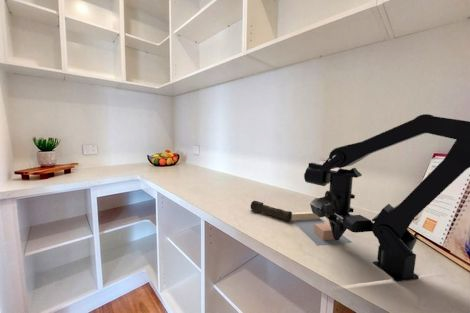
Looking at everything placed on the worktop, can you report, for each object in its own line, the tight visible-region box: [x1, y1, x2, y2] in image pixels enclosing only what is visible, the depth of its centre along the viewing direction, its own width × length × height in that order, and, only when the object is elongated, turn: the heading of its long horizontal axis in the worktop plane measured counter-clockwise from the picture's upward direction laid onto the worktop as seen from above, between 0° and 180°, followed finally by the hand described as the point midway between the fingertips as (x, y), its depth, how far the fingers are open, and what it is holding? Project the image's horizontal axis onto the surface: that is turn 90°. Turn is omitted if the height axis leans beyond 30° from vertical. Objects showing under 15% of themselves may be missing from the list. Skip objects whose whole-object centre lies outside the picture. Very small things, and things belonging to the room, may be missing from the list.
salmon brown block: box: [314, 222, 334, 240], centre depth 63 cm, size 5×5×3 cm
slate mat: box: [290, 211, 353, 247], centre depth 68 cm, size 18×12×3 cm, turn 10°
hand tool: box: [250, 200, 293, 223], centre depth 80 cm, size 19×4×5 cm, turn 47°
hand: (336, 239), depth 58 cm, fingers closed
